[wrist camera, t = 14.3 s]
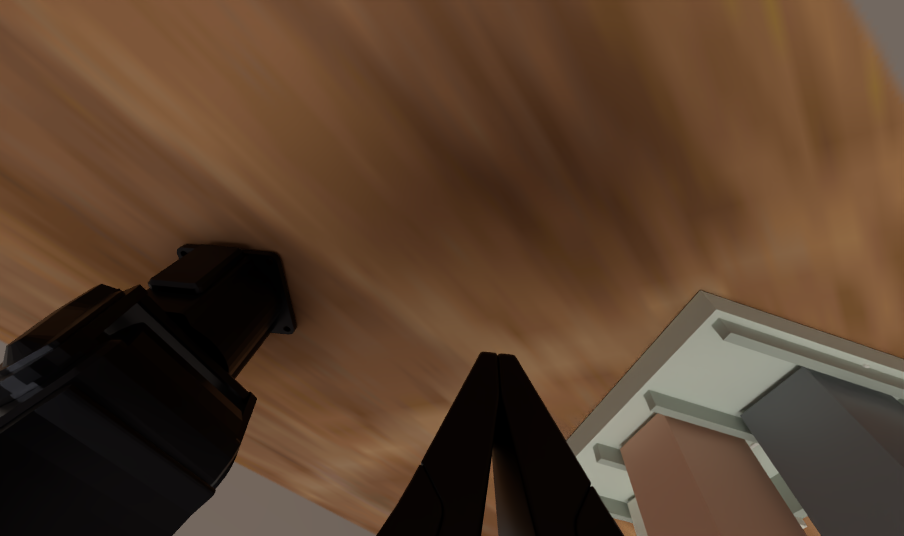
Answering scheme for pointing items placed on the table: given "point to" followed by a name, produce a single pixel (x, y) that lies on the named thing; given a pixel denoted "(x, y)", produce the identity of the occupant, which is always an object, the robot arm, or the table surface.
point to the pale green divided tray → (717, 385)
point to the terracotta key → (702, 483)
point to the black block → (836, 451)
